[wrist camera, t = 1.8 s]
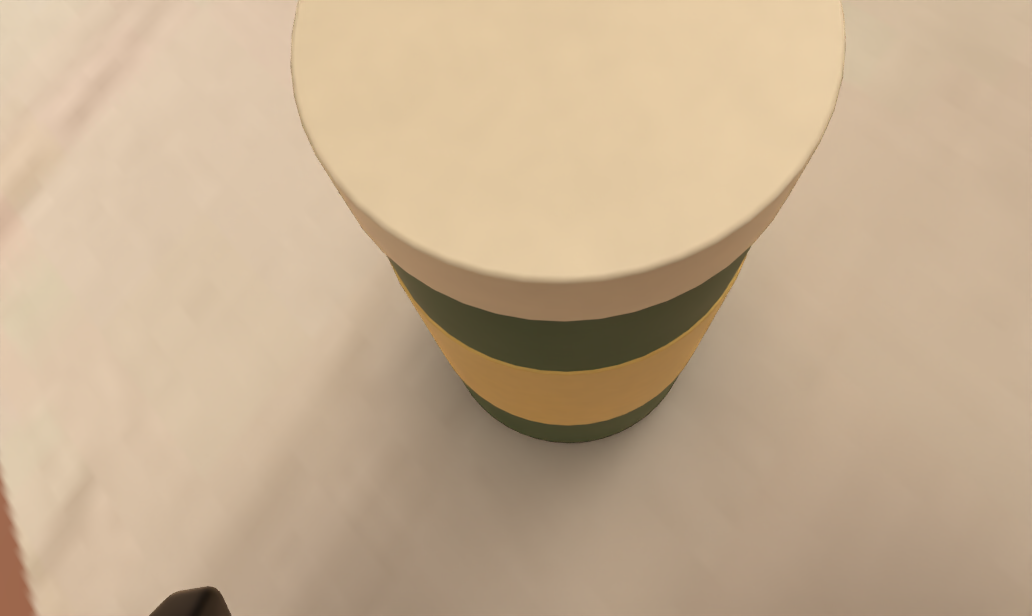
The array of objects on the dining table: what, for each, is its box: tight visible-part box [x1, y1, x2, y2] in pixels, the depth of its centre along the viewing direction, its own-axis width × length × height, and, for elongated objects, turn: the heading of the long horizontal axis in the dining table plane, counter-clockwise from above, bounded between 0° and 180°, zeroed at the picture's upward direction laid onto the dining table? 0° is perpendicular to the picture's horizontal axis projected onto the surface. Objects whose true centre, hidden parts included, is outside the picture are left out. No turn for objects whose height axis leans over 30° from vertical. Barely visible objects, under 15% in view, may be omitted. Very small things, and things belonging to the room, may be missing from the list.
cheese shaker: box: [291, 0, 846, 443], centre depth 15 cm, size 7×7×12 cm
